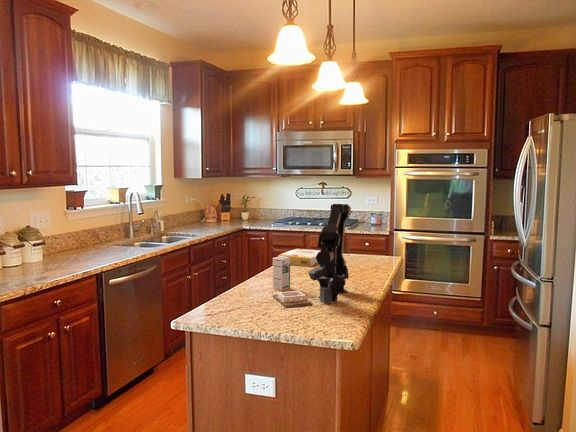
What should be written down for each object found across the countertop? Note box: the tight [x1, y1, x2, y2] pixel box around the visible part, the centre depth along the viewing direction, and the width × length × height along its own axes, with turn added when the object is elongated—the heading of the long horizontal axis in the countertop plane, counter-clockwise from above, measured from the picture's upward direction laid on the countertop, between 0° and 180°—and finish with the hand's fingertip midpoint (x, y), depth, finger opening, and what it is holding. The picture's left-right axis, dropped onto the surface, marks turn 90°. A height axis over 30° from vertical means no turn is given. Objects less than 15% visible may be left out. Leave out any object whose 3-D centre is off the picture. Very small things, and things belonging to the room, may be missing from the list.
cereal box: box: [277, 248, 321, 267], centre depth 278 cm, size 20×6×28 cm
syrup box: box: [272, 256, 291, 291], centre depth 212 cm, size 6×6×14 cm
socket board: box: [272, 290, 312, 309], centre depth 192 cm, size 16×11×3 cm
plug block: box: [319, 286, 338, 305], centre depth 191 cm, size 4×6×6 cm, turn 110°
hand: (328, 298), depth 192 cm, fingers open, 9 cm apart
